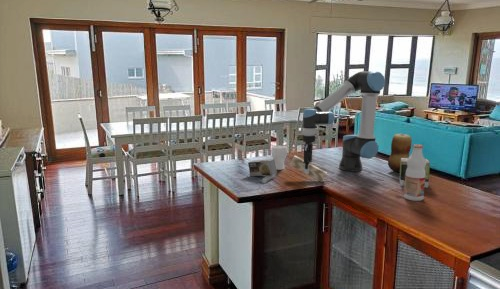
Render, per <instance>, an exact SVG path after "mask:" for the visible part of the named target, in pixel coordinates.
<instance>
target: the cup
mask: <svg viewBox="0 0 500 289" xmlns="http://www.w3.org/2000/svg"><path fill="white" fill-rule="evenodd" d="M270 152H271V154H270V155H271V157H272V159H275V165H276V171H278V170H279V171H280V170H285V168H286V167H285V159H286V157H287V155H288V148H287V146H286V145H279V144H278V145H273V146H271V150H270Z"/></svg>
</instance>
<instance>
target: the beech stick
mask: <svg viewBox="0 0 500 289" xmlns="http://www.w3.org/2000/svg"><path fill="white" fill-rule="evenodd" d="M303 162H304V158H301V157H300V156H297V155H293V157H292V159H291V162H290V164H289V165H290V166H291V167H293V168H295V169H297V170H299V171H300V172H302V173H304V166H305V163H303ZM327 174H328V172H327V171H325V170H324V169H321V168H319V167H317V166H316V165H314V164H313V163H311V164H310V163H309V174H307V175H308V176H309V177H312V178H314V179H315V180H317V181H319V182H321V183H324V180H325V178H326V177H327Z"/></svg>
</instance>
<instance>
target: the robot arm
mask: <svg viewBox="0 0 500 289" xmlns="http://www.w3.org/2000/svg"><path fill="white" fill-rule="evenodd" d="M385 85H386V79H385V76H384V75H383V73H382V72H380V71H375V70H371V71H369V70H368V71H367V70H366V71H364V70H362V71H358V72H355V74H353V75H351V76H350V77H348V78H347V79H346V80H344V82H343V84H342V85H341V86H340V87H338V88H337V89H335V91H333V92H332V93H330V94H329V95H328V96H327V97H326V98H324V99H323V100H321V101H320V102H319V103H318V104H317V105H315V106H314V107H313V108H305V109H303V113H302V128H301V131H302V138H301V139H302V140H301V141H302V142H304V147H303V160H304V162H303V163H305V166H304V172H303V173H304V175H308V174H309V163H310V164H312V162H313V160H312V159H313V149H314V148H313V146H314V144H313V143H314V142H316V131H317V128H316V126H317V125H332V124H333V123H334V121H335V114H334V113H333V112H332V111H330V110H332V109H333V108H334V107H336V106H337V105H338V104H339V103H342V101H343V100H345V99H346V98H347V97H349V96H350V95H351V94H354V93H355V94H356V92H358V91H360V94H361V95H362V99H361V110H360V124H359V133H358V134H346V135H343V136H342V137H343V138H342V154H341V159H340V162H339V166H338V169H340V170H342V171H346V172H359V171H362V170H363V164H362V161H361V158H362V159H368V160H369V159H372V158H375V156H377V154H378V152H379V144H378V143H377V142H376V139H377V138H376V136H375V135H374V131H375V121H376V111H377V101H378V96H380V94H381V91H382V90H383V89H384V88H385Z"/></svg>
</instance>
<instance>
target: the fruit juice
mask: <svg viewBox="0 0 500 289" xmlns="http://www.w3.org/2000/svg"><path fill="white" fill-rule="evenodd" d="M411 148H412V152H411V154H410V155H409V158H408V159H407V169H406V174H405V186H403V187H404V190H403V197H404V198H405V200H409V201H415V202H419V201H423V200H424V195H425V187H424V186H425V175H426V172H425V166H426V160H425V159H426V158H425V157H424V154H423V149H424V145H423V144H417V143H415V144H413V145H411Z"/></svg>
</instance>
